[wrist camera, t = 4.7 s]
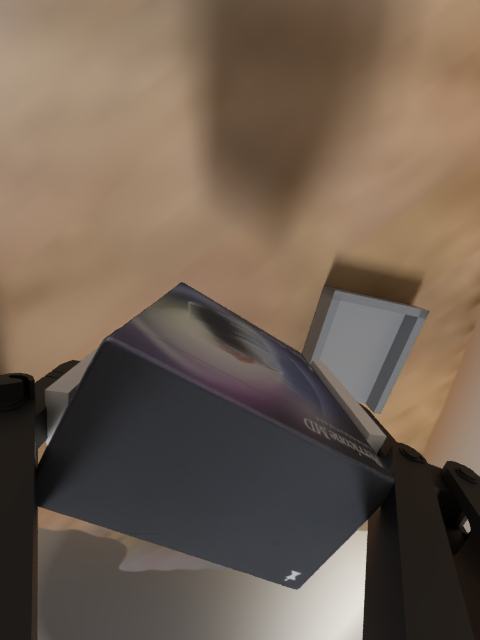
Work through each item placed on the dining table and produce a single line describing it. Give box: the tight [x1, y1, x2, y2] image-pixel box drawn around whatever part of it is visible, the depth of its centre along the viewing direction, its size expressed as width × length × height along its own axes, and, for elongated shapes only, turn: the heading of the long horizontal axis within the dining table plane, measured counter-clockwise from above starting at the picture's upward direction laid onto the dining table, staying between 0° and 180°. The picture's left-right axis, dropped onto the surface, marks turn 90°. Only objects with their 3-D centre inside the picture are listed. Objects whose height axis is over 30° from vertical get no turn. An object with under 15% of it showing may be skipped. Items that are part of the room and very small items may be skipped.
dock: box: [302, 286, 429, 414], centre depth 31 cm, size 12×21×3 cm, turn 168°
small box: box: [36, 282, 395, 590], centre depth 12 cm, size 11×6×10 cm, turn 58°
